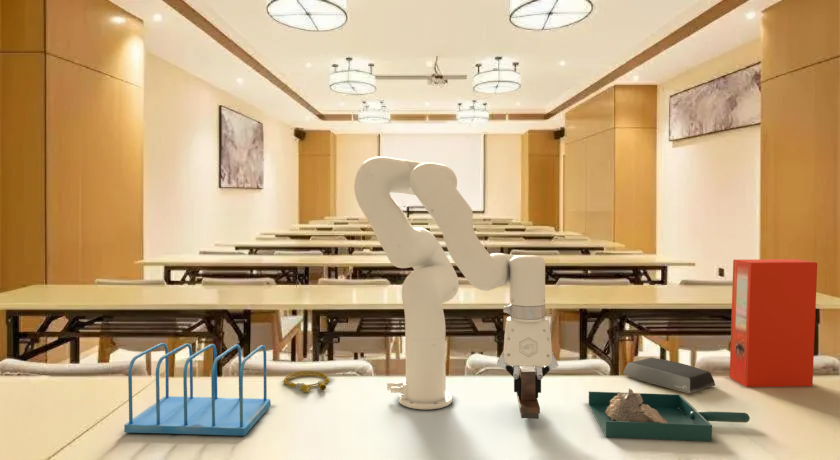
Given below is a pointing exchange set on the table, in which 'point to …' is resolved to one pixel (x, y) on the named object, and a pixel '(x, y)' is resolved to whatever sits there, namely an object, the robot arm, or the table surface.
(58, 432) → the table surface
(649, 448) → the table surface
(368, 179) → the robot arm
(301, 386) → the gold rope bracelet
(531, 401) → the brown stepped block
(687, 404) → the dustpan
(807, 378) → the file binder
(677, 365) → the hard drive
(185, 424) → the file sorter
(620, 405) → the rock
